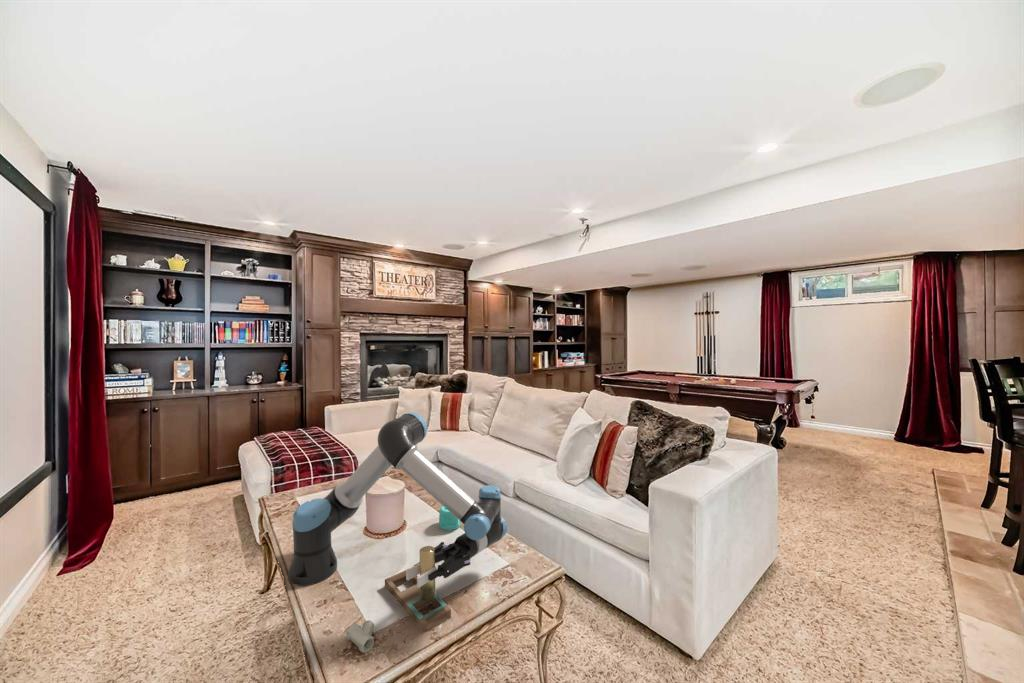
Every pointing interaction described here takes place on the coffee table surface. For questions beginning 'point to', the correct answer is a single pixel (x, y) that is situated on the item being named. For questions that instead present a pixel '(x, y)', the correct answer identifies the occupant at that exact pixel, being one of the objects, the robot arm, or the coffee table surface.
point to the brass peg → (426, 564)
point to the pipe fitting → (361, 635)
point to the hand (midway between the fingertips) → (412, 578)
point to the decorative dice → (448, 520)
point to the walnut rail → (417, 602)
